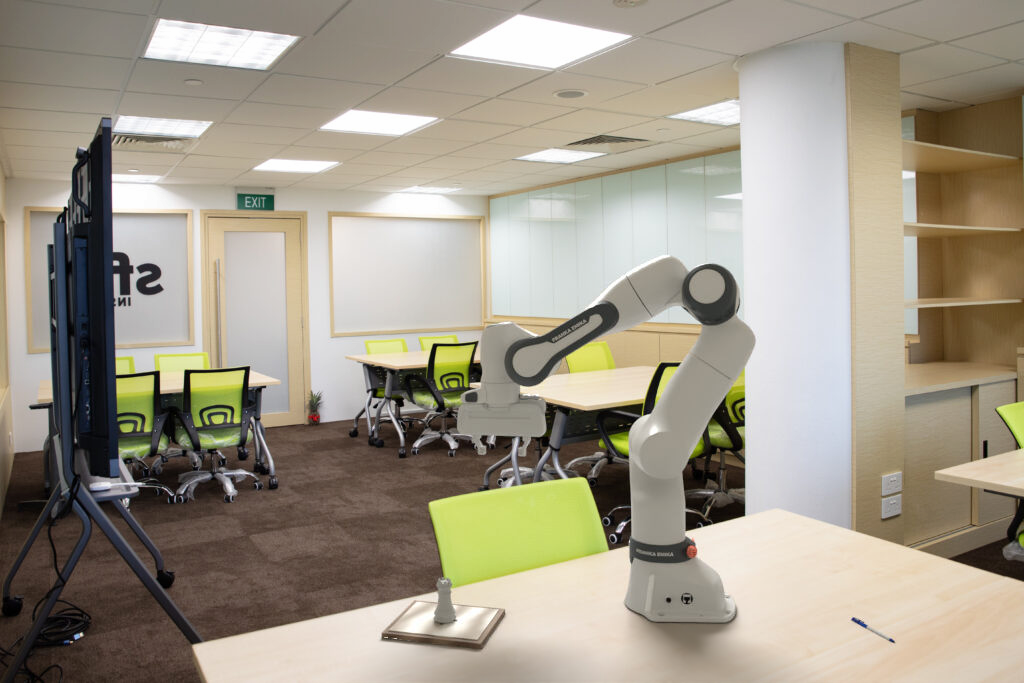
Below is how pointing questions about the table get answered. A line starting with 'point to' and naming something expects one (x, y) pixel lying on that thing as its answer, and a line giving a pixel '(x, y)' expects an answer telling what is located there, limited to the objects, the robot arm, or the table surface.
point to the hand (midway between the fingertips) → (502, 455)
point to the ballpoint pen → (871, 629)
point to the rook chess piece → (444, 602)
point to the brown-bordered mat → (445, 625)
